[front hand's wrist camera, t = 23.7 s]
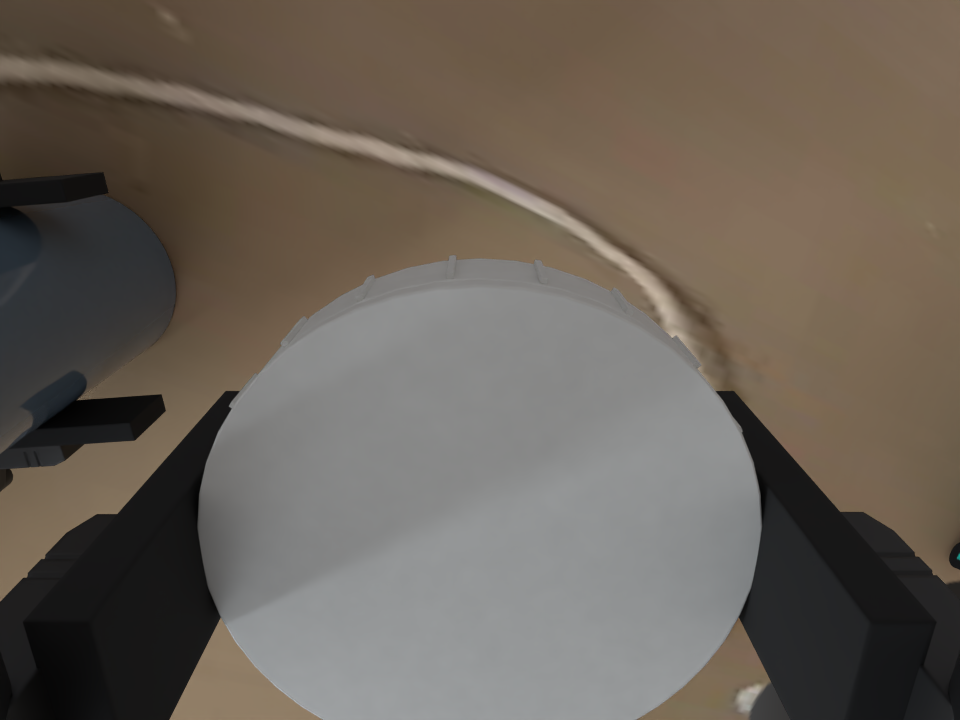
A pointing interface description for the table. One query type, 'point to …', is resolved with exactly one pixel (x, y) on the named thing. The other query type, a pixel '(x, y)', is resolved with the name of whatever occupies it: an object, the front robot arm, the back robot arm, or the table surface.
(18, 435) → the jar
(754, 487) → the lid
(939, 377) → the table surface
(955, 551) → the decorative sign
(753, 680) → the table surface
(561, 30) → the table surface
